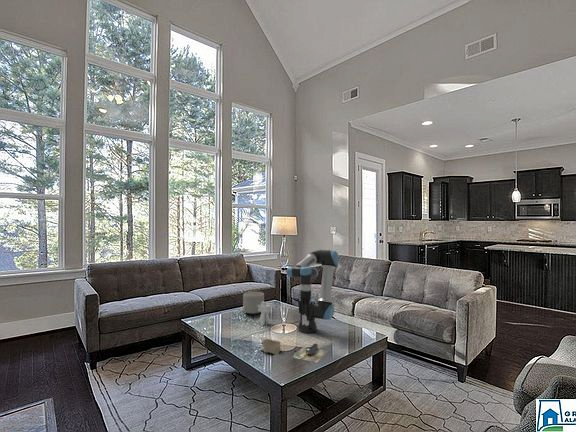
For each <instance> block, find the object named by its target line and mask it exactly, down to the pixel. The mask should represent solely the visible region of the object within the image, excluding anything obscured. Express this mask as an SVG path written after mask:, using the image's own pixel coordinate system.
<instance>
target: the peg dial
mask: <svg viewBox="0 0 576 432" xmlns="http://www.w3.org/2000/svg"><path fill="white" fill-rule="evenodd" d="M306 347H307V348H306V354H305V355H304V357H305V356H307V355H309V356H312V355H315V350H317V349H318V347H319V344H318V343H314V344H312V345H311V346H306Z"/></svg>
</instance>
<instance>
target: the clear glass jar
mask: <svg viewBox="0 0 576 432" xmlns="http://www.w3.org/2000/svg"><path fill="white" fill-rule="evenodd" d="M273 303H274V302H273ZM273 303H269V302H266V301H264V302H261V304H260V305H257V306H258V308H259V309H258V311H260V317H259V318H258V320H257V324H260V326H264V325H272V323H273V322H272V321H271V319H270V316H269V312H271V311H272V308H271V305H273Z"/></svg>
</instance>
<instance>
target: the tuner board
mask: <svg viewBox="0 0 576 432" xmlns="http://www.w3.org/2000/svg"><path fill="white" fill-rule="evenodd" d="M307 347H308V346H303V347H302V348H301V349H298V350H297V351H296V352H295V353H294V355H293V356H292V358H295V359H298V360H303V361H307V362H312V363H316V364H318V362H320V360H321V359H322V358H323V357H324V356H325V355H326V354H327V353H328V352H329V351H328V350H323V349H317V350H315V355H312V356H309V355H307V356H305V357H304V355H305V354H306V348H307Z"/></svg>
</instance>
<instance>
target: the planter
mask: <svg viewBox="0 0 576 432" xmlns="http://www.w3.org/2000/svg"><path fill="white" fill-rule="evenodd" d="M242 295H243V298H242V299H243V301H242V304H243V305H242V306H243V312H244V313H246V314H249V315H251V316H254V315H256V316H257V315H258V314H261V312H260V311H258V309H259V308H258V306H257V305H260V304H261V302H265V293H264V292H262V291H248V292H244V293H243V294H242Z"/></svg>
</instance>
